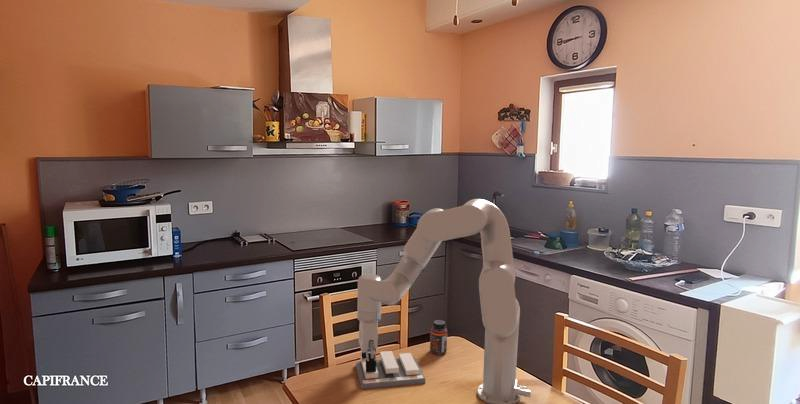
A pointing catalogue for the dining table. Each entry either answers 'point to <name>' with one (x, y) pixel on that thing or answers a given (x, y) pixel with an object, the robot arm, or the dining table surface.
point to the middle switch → (389, 362)
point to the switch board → (389, 376)
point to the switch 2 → (408, 364)
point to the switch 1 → (368, 374)
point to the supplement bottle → (438, 338)
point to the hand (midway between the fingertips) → (368, 364)
